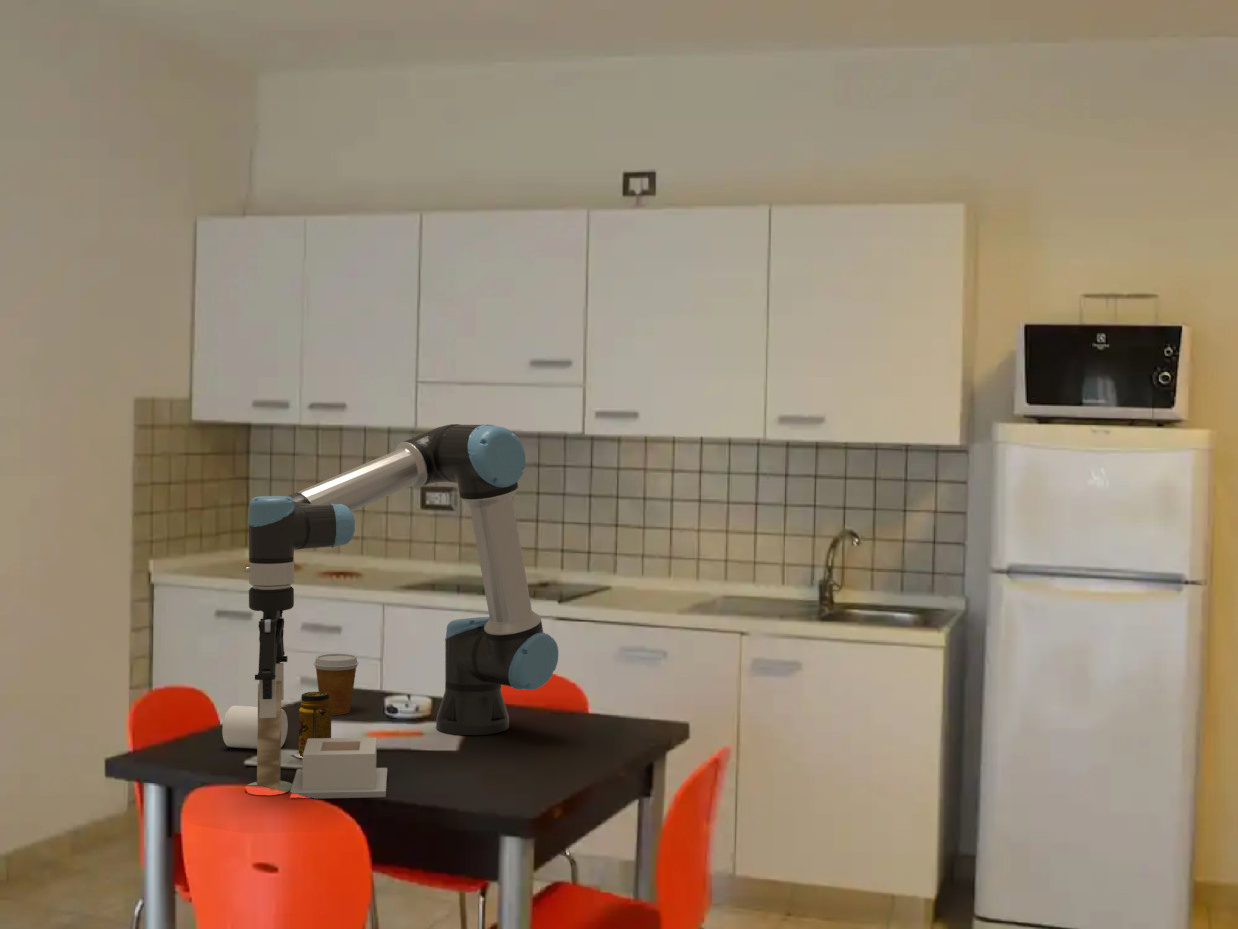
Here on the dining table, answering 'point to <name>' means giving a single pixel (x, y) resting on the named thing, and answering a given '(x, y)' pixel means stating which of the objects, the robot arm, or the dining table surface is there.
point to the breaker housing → (340, 769)
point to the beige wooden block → (269, 746)
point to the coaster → (283, 785)
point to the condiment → (314, 718)
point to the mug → (246, 727)
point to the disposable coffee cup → (337, 680)
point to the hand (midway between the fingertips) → (271, 708)
